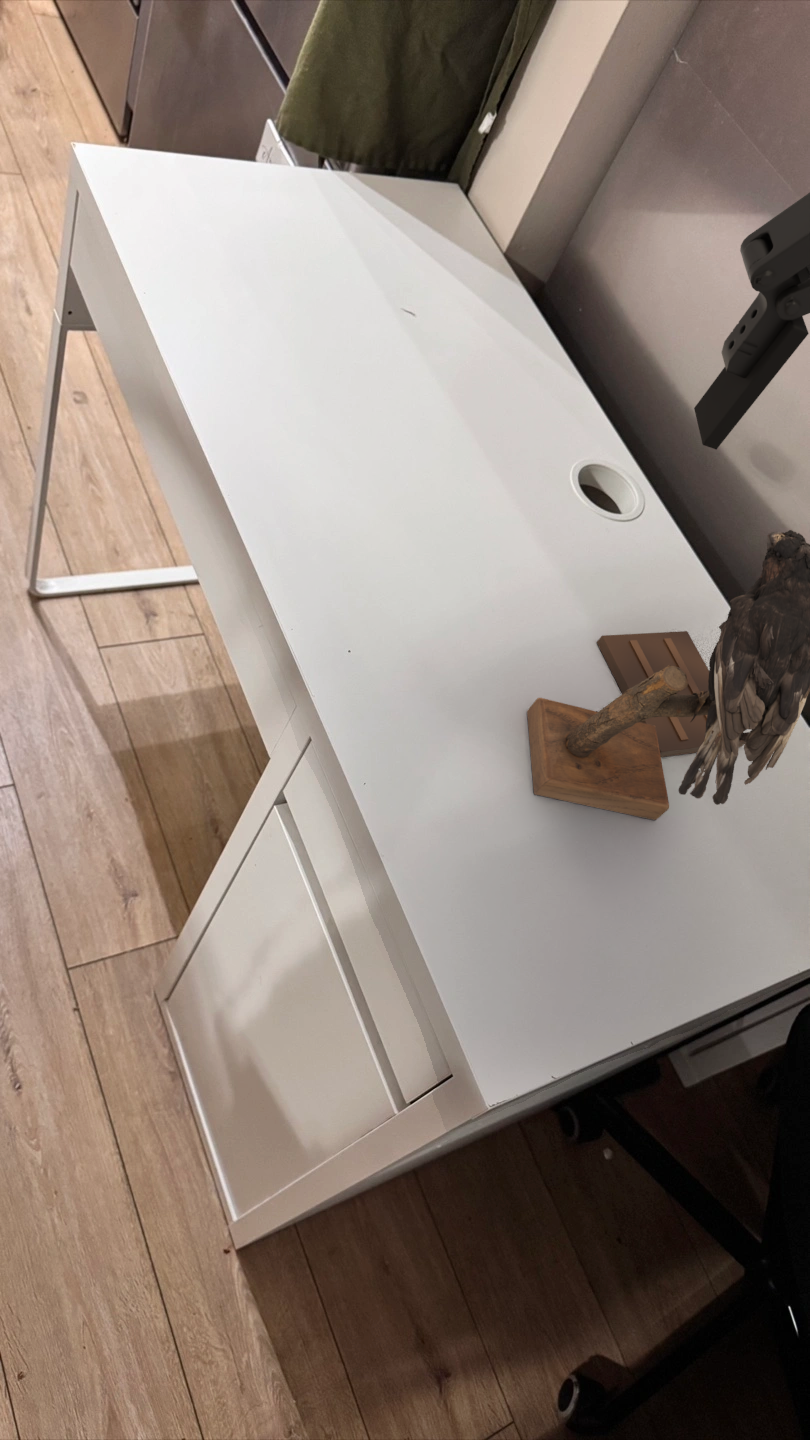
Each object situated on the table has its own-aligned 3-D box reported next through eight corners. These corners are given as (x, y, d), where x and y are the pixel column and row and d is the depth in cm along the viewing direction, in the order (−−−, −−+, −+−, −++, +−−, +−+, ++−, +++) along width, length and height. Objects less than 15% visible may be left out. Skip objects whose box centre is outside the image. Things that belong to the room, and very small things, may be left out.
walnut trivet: (741, 747, 89) (749, 740, 88) (654, 758, 84) (662, 750, 83) (681, 637, 94) (688, 629, 93) (596, 642, 89) (602, 634, 88)
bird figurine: (539, 869, 73) (753, 669, 54) (526, 710, 81) (709, 488, 62) (666, 894, 76) (912, 712, 57) (642, 738, 85) (849, 535, 66)
